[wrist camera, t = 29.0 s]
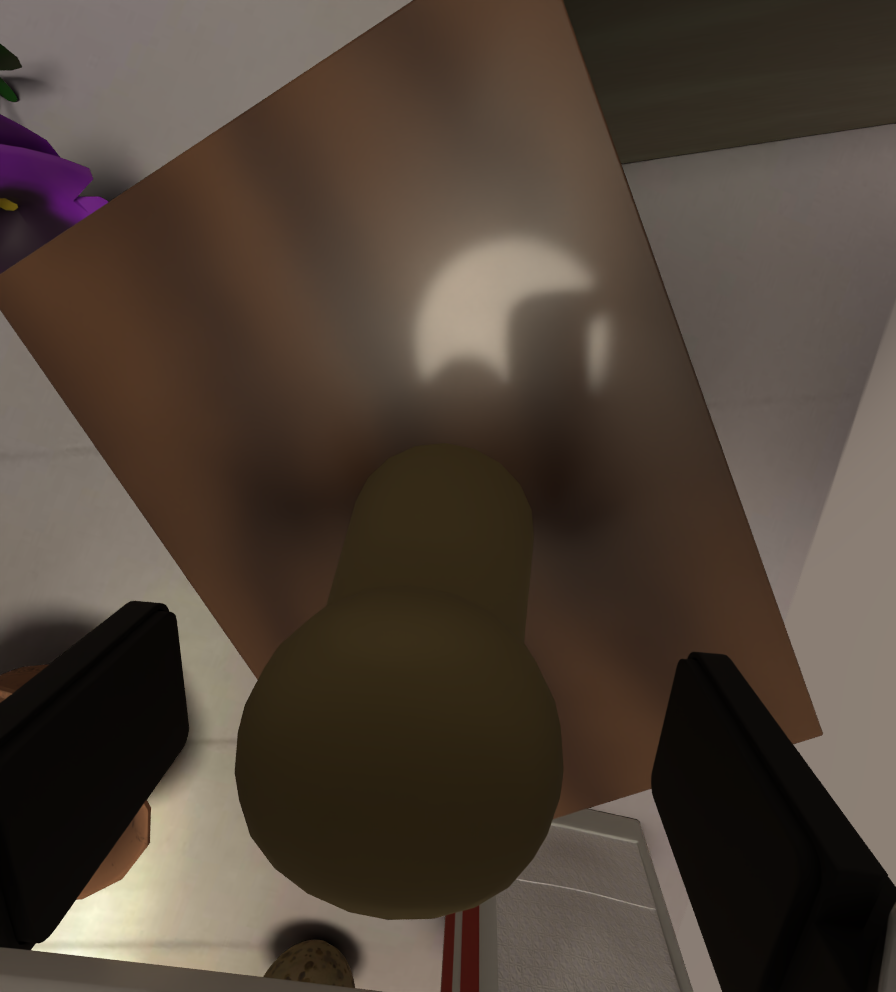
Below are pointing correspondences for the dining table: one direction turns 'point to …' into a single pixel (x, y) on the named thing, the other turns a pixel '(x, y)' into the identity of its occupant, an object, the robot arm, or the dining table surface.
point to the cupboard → (419, 363)
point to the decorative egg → (313, 965)
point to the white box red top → (571, 919)
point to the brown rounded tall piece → (410, 703)
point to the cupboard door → (735, 70)
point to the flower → (35, 186)
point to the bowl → (135, 833)
